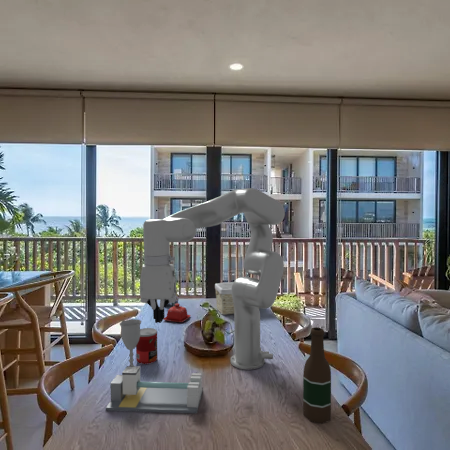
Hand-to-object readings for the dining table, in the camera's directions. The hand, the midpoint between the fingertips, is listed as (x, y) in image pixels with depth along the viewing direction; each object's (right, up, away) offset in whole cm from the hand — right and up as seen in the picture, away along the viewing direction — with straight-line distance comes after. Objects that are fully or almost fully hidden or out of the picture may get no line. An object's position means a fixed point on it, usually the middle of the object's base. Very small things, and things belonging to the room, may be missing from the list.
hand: (159, 321), depth 99 cm
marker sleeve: (-8, -21, 0) cm, 22 cm away
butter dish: (-5, -21, +73) cm, 76 cm away
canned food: (-10, -22, +26) cm, 36 cm away
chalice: (-13, -23, +15) cm, 30 cm away
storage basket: (+27, -20, +88) cm, 94 cm away
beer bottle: (+45, -23, -9) cm, 51 cm away
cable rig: (-1, -23, -1) cm, 23 cm away
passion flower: (-13, -20, +97) cm, 99 cm away
